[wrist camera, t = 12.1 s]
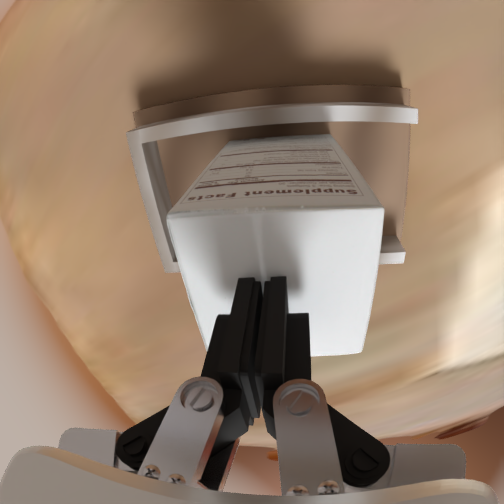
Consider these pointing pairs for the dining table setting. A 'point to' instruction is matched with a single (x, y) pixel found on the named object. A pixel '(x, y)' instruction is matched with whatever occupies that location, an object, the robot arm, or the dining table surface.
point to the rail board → (275, 125)
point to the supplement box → (283, 235)
